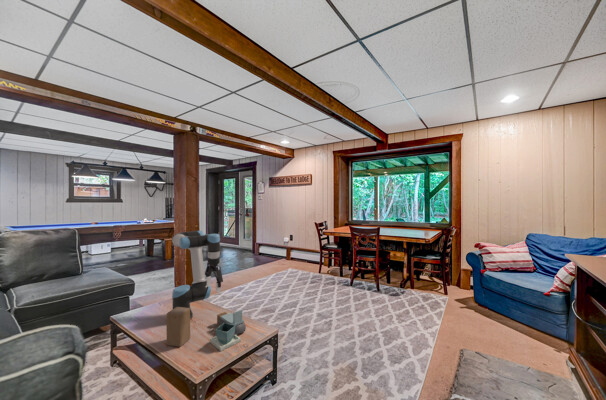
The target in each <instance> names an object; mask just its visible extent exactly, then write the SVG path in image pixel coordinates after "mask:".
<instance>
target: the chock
mask: <svg viewBox="0 0 606 400" xmlns="http://www.w3.org/2000/svg"><path fill="white" fill-rule="evenodd" d="M225 314H228V313H227V312H226V311H222V312H221V313H218V314H216V324H217V326H219V320H220V319H221V316H223V315H225Z"/></svg>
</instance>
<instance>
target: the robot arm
mask: <svg viewBox="0 0 606 400" xmlns="http://www.w3.org/2000/svg"><path fill="white" fill-rule="evenodd" d="M220 242H221V237H220V234H219V233H210V234H209V233H206V234H205V233H204V232H203V231H202V230H193V231H182V232H179V233H176V234H174V235H173V236H172V237H171V243H172V244H173V246H175V247H178V248H180V249H181V250H184V249H185V250H187V249H188V250H189V251H190V258H191V259H190V260H191V270H192V279H193V281H192V283H191V286H190V285H189V284H182V285H179V286H177V287H175V288H174V289H173V290H172V295H171V298H172V310H173V309H174V308H176V307H185V308H190V320H192V318H193V317H194V315H193V310H192V308H191V303H195V302H199V301H204V300H207V299H209V298H210V296H211V293H212V276H211V275H212V273H213V274H214V277H215V279H216V282H215V283H216V293H217V294H218V293H221V292H222V283H223V282H224V279H223V275H222V268H221V266H220V265H218V264H220V260H221V259H220V255H221V254H220V253H221V251H220V247H221V246H220V245H221V243H220ZM204 247H207V262H206V268H205V265H204V258H203V257H204V255H203V248H204Z"/></svg>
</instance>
